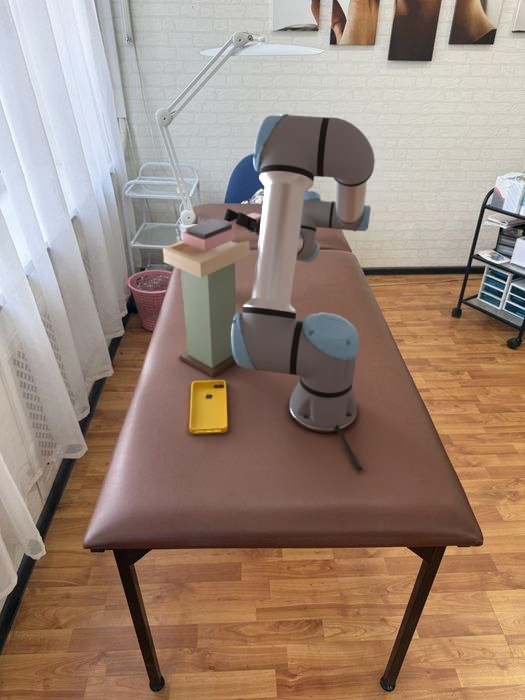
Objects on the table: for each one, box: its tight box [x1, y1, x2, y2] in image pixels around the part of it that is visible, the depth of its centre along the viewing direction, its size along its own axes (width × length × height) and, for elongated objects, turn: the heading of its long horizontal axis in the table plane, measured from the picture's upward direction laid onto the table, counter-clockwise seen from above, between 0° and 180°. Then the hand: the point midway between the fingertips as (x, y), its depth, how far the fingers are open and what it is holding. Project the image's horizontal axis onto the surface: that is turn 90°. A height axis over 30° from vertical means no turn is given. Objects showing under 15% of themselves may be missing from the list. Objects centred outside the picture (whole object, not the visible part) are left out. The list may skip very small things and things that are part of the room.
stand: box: [162, 239, 251, 378], centre depth 124 cm, size 16×12×32 cm
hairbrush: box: [182, 212, 262, 251], centre depth 119 cm, size 22×7×4 cm, turn 140°
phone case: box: [188, 379, 229, 435], centre depth 116 cm, size 8×17×1 cm, turn 5°
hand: (232, 216), depth 119 cm, fingers closed on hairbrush, 3 cm apart
